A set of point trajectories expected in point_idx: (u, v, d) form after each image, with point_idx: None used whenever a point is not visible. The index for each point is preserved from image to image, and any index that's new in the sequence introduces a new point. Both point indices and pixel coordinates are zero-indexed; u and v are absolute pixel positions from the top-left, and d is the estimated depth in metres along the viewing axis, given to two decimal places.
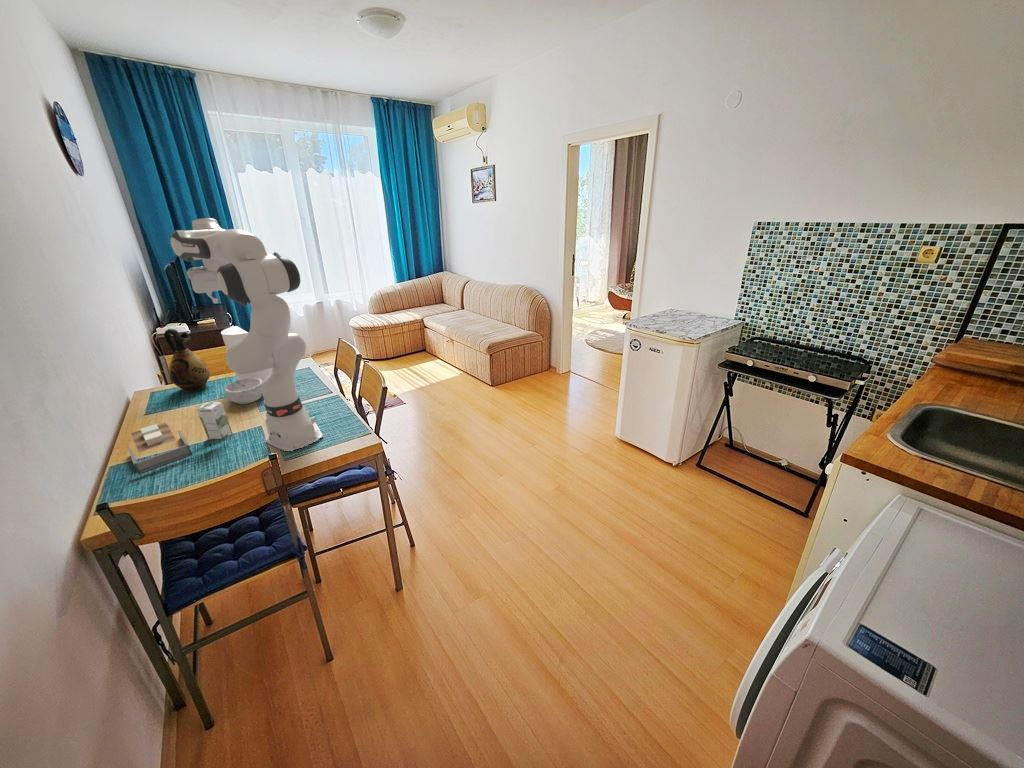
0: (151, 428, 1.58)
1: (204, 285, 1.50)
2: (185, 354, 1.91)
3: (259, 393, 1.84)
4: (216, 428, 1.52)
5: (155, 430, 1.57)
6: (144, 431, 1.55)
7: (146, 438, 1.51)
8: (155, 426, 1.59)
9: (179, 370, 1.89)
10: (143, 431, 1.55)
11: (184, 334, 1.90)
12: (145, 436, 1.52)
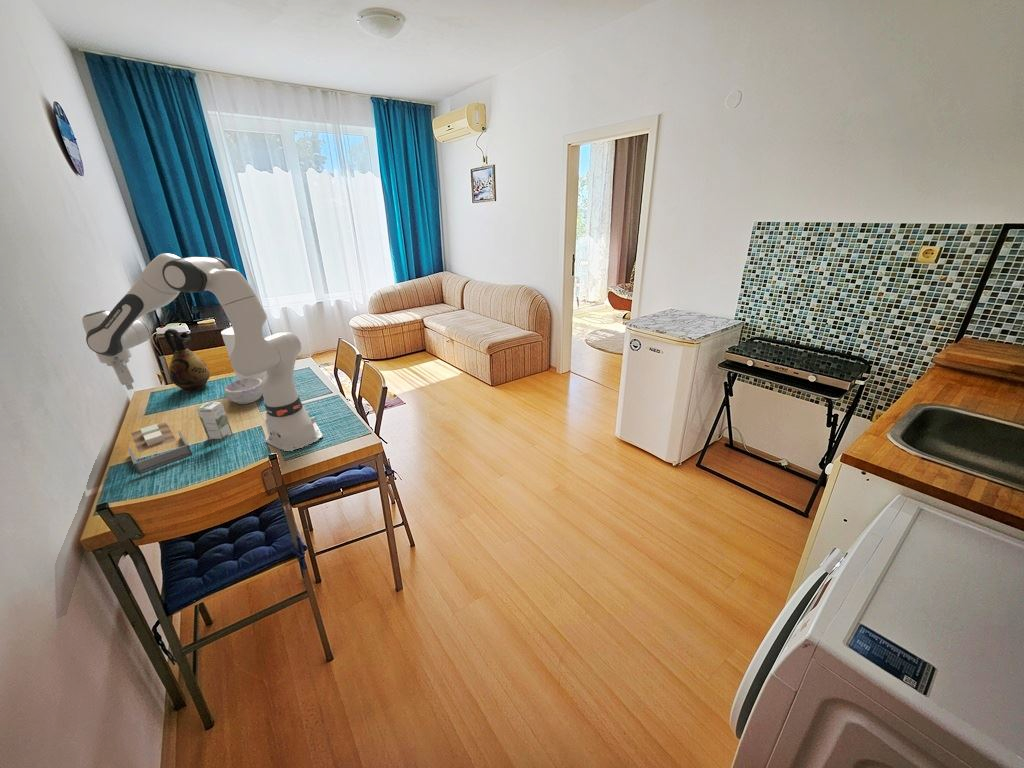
0: (151, 428, 1.58)
1: None
2: (185, 354, 1.91)
3: (259, 393, 1.84)
4: (216, 428, 1.52)
5: (155, 430, 1.57)
6: (144, 431, 1.55)
7: (146, 438, 1.51)
8: (155, 426, 1.59)
9: (179, 370, 1.89)
10: (143, 431, 1.55)
11: (184, 334, 1.90)
12: (145, 436, 1.52)
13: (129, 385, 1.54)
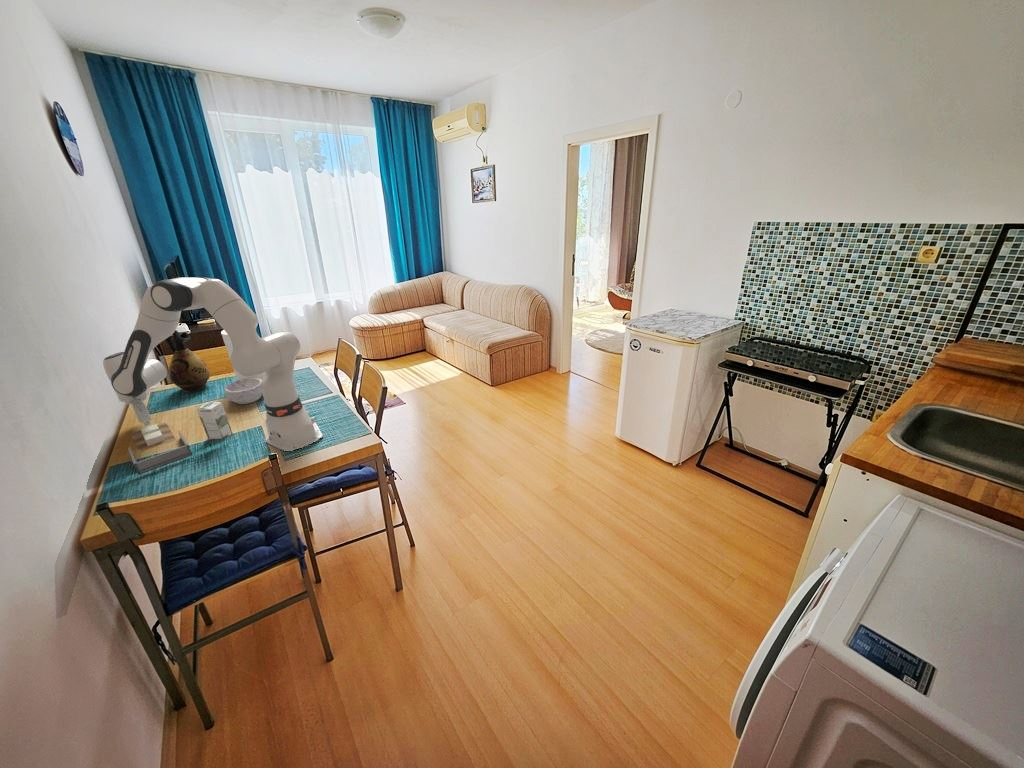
0: (151, 428, 1.58)
1: None
2: (185, 354, 1.91)
3: (259, 393, 1.84)
4: (216, 428, 1.52)
5: (155, 430, 1.57)
6: (144, 431, 1.55)
7: (146, 438, 1.51)
8: (155, 426, 1.59)
9: (179, 370, 1.89)
10: (143, 431, 1.55)
11: (184, 334, 1.90)
12: (145, 436, 1.52)
13: (146, 421, 1.61)
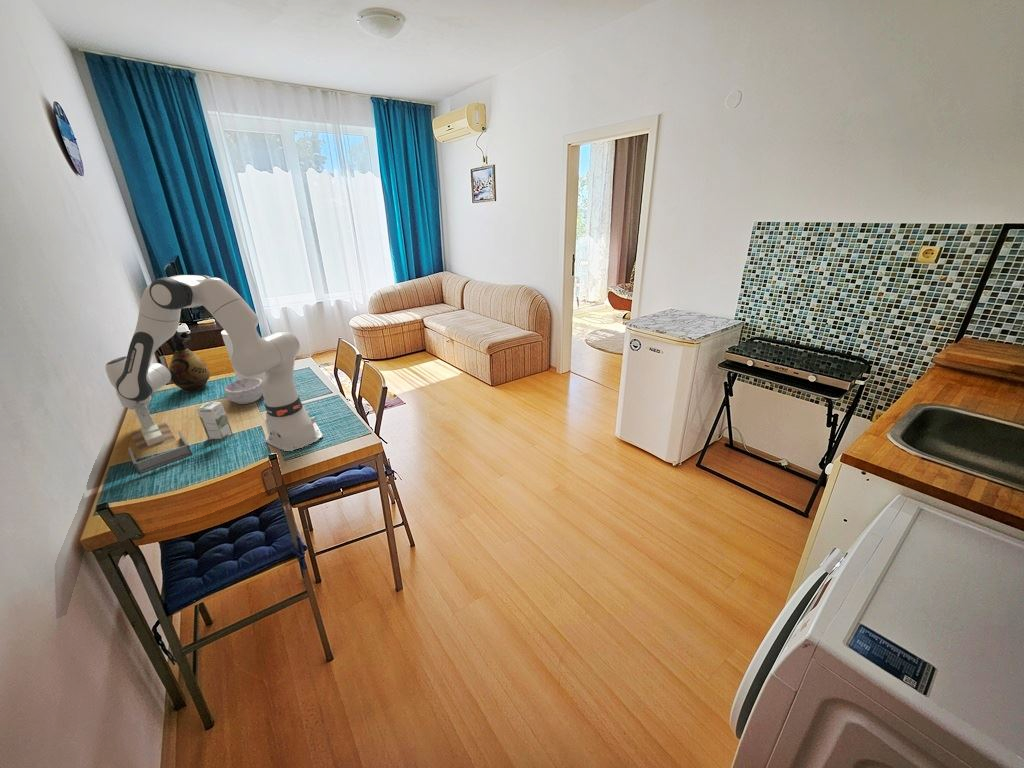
0: (151, 428, 1.57)
1: None
2: (185, 354, 1.91)
3: (259, 393, 1.84)
4: (216, 428, 1.52)
5: (155, 430, 1.57)
6: (144, 431, 1.55)
7: (146, 438, 1.51)
8: (155, 426, 1.58)
9: (179, 370, 1.89)
10: (143, 431, 1.55)
11: (184, 334, 1.90)
12: (145, 436, 1.52)
13: None
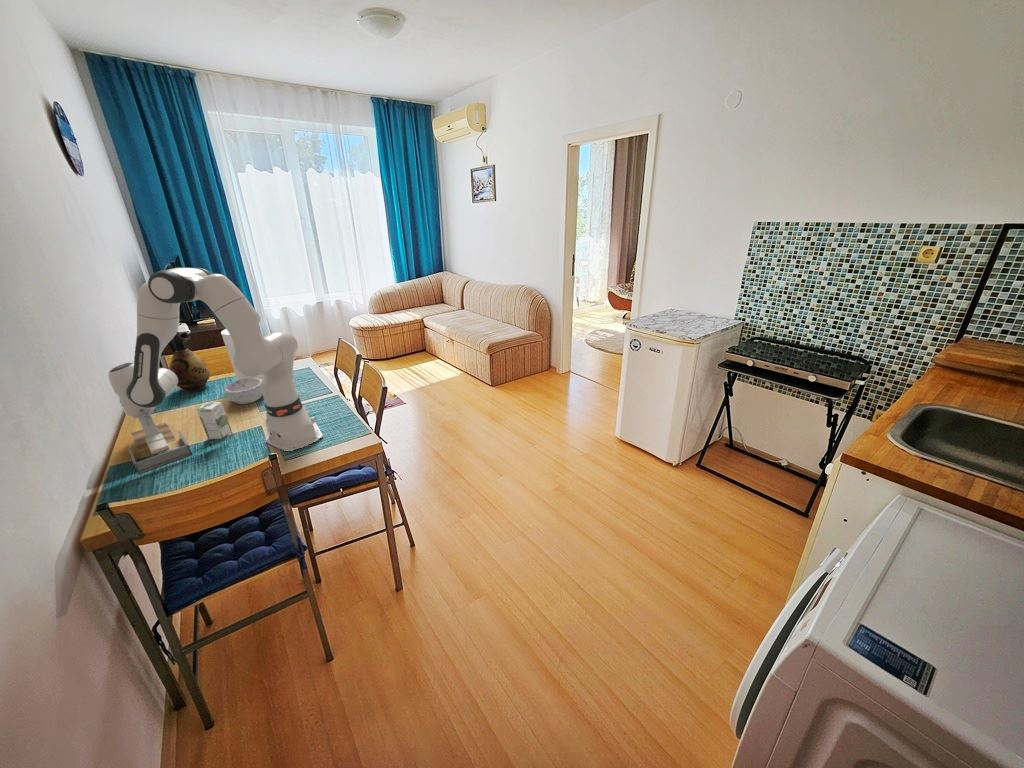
0: (156, 437, 1.51)
1: None
2: (185, 354, 1.91)
3: (259, 393, 1.84)
4: (216, 428, 1.52)
5: None
6: (149, 441, 1.49)
7: (151, 448, 1.46)
8: (160, 435, 1.52)
9: (179, 370, 1.89)
10: (148, 441, 1.49)
11: (184, 334, 1.90)
12: (150, 445, 1.47)
13: None
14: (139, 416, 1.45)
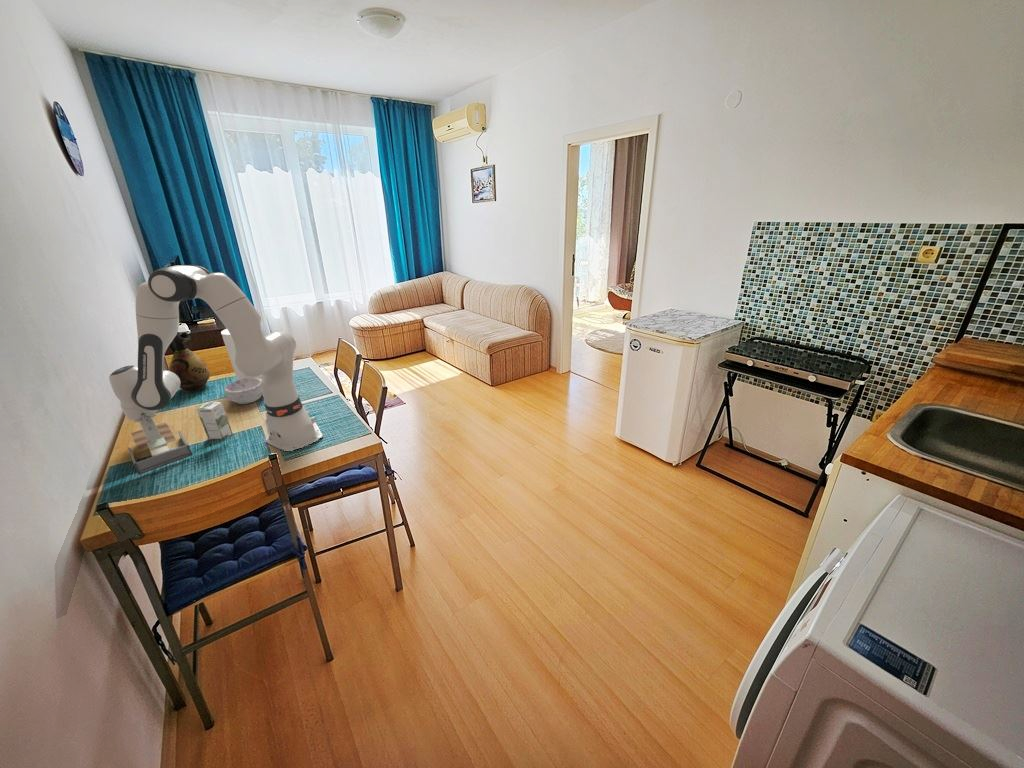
0: (158, 442, 1.48)
1: None
2: (185, 354, 1.91)
3: (259, 393, 1.84)
4: (216, 428, 1.52)
5: (163, 445, 1.48)
6: (151, 446, 1.46)
7: (153, 453, 1.43)
8: (162, 440, 1.49)
9: (179, 370, 1.89)
10: (150, 446, 1.46)
11: (184, 334, 1.90)
12: (152, 451, 1.45)
13: None
14: (140, 420, 1.42)
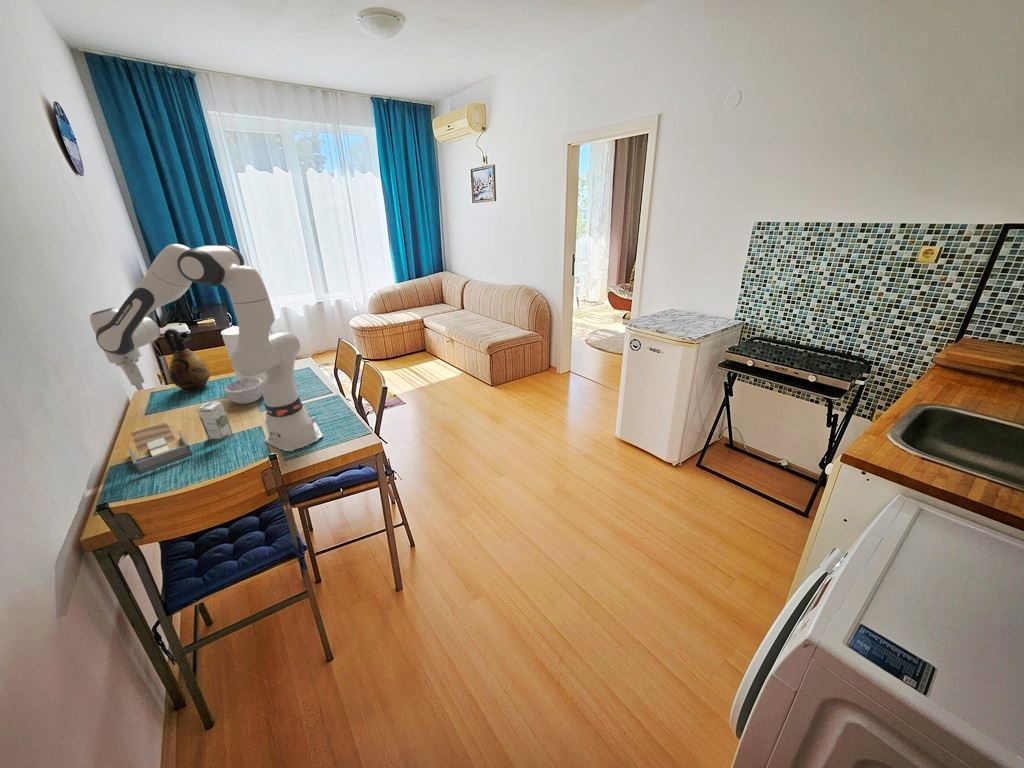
0: (158, 442, 1.48)
1: None
2: (185, 354, 1.91)
3: (259, 393, 1.84)
4: (216, 428, 1.52)
5: (163, 445, 1.48)
6: (151, 446, 1.46)
7: (153, 453, 1.43)
8: (162, 440, 1.49)
9: (179, 370, 1.89)
10: (150, 446, 1.46)
11: (184, 334, 1.90)
12: (152, 451, 1.45)
13: (139, 386, 1.48)
14: (123, 363, 1.40)
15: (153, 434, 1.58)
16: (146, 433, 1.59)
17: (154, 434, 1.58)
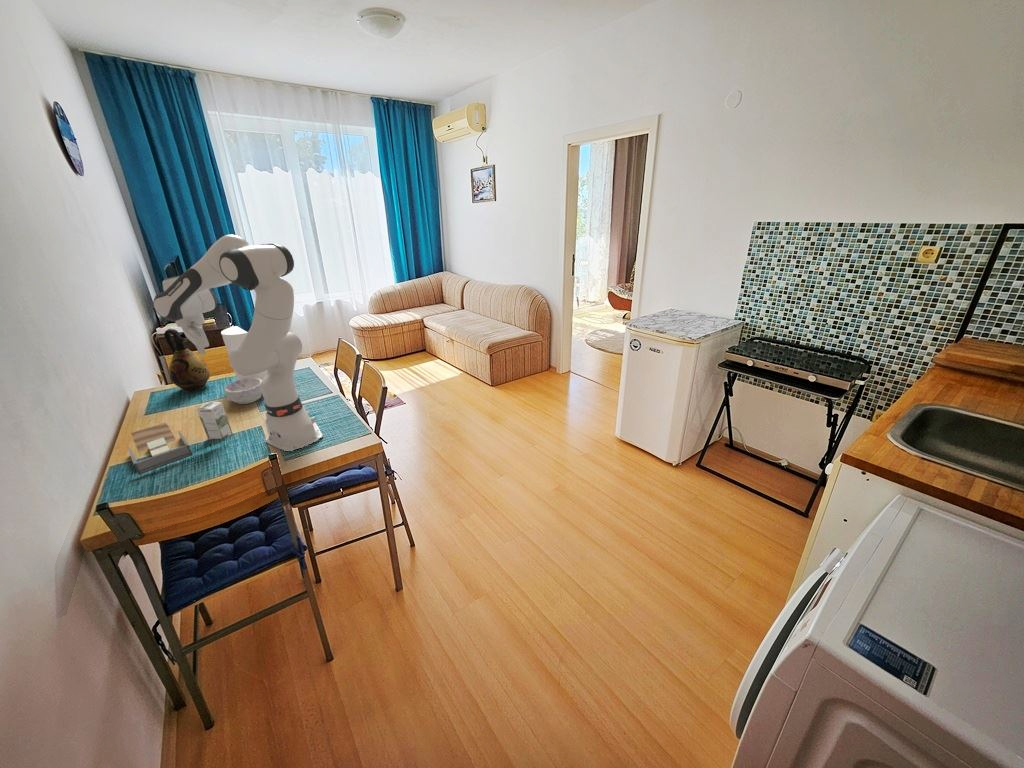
0: (158, 442, 1.48)
1: None
2: (185, 354, 1.91)
3: (259, 393, 1.84)
4: (216, 428, 1.52)
5: (163, 445, 1.48)
6: (151, 446, 1.46)
7: (153, 453, 1.43)
8: (162, 440, 1.49)
9: (179, 370, 1.89)
10: (150, 446, 1.46)
11: (184, 334, 1.90)
12: (152, 451, 1.45)
13: (202, 350, 1.58)
14: (191, 327, 1.50)
15: (153, 434, 1.58)
16: (146, 433, 1.59)
17: (154, 434, 1.58)
